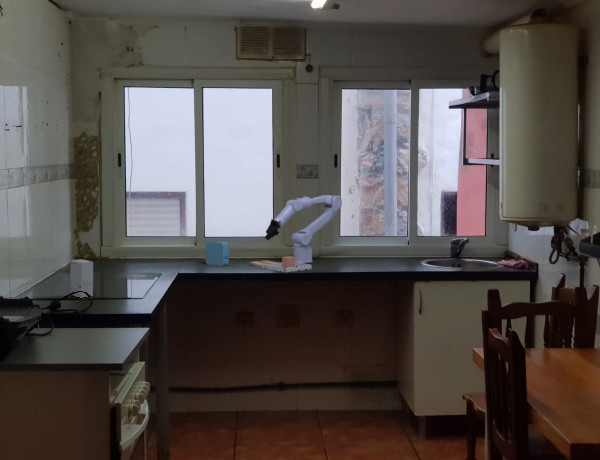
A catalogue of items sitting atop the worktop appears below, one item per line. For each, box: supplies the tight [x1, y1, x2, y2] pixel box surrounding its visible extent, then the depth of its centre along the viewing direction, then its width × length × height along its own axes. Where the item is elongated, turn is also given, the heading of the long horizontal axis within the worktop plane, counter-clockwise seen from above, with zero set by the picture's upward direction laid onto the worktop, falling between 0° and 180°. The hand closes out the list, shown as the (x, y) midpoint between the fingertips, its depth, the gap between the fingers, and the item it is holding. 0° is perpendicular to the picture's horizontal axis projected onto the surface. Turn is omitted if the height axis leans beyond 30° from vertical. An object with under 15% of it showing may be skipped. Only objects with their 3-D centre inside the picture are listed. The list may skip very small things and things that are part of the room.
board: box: [247, 259, 281, 269], centre depth 398 cm, size 12×12×2 cm
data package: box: [205, 240, 230, 267], centre depth 400 cm, size 12×4×12 cm, turn 56°
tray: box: [264, 262, 313, 273], centre depth 386 cm, size 18×16×2 cm
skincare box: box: [69, 259, 94, 299], centre depth 311 cm, size 8×6×15 cm
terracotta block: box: [281, 255, 296, 268], centre depth 386 cm, size 4×4×6 cm
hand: (266, 236), depth 395 cm, fingers open, 7 cm apart
